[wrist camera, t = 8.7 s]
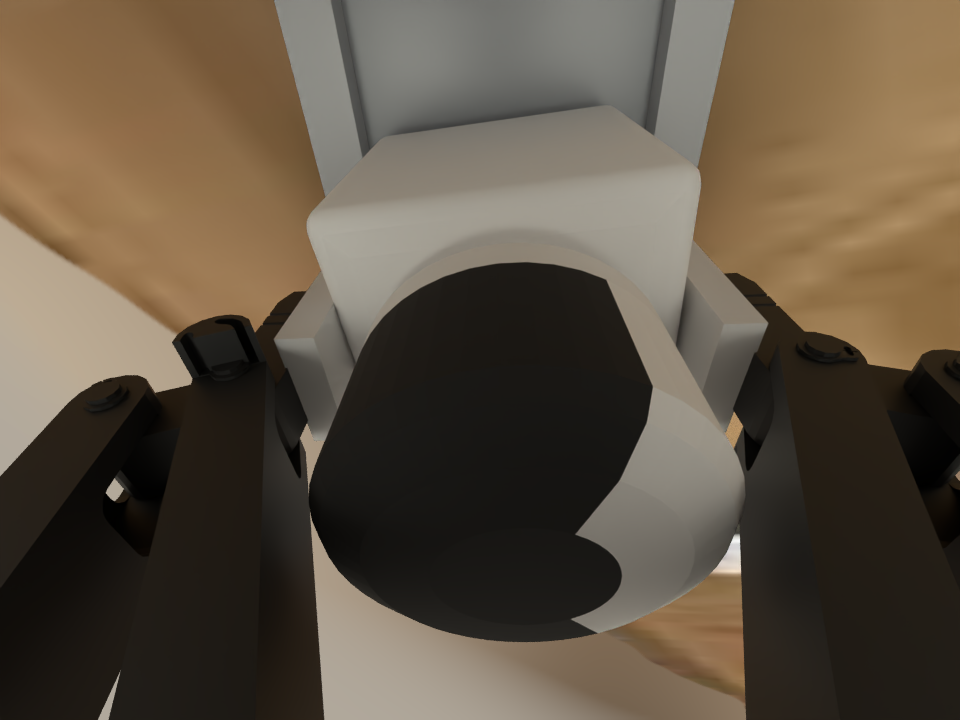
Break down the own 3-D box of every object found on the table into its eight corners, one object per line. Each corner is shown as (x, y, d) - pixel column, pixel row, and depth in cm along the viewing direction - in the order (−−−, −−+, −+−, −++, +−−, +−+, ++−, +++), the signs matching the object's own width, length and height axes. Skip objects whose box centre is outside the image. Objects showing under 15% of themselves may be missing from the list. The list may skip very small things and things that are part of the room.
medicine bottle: (424, 330, 18) (346, 686, 8) (376, 135, 14) (103, 403, 4) (606, 312, 17) (749, 677, 8) (616, 101, 13) (963, 328, 3)
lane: (251, -206, 11) (114, -333, 7) (756, -259, 10) (918, -432, 6) (399, 426, 24) (381, 506, 20) (624, 421, 24) (651, 503, 20)
